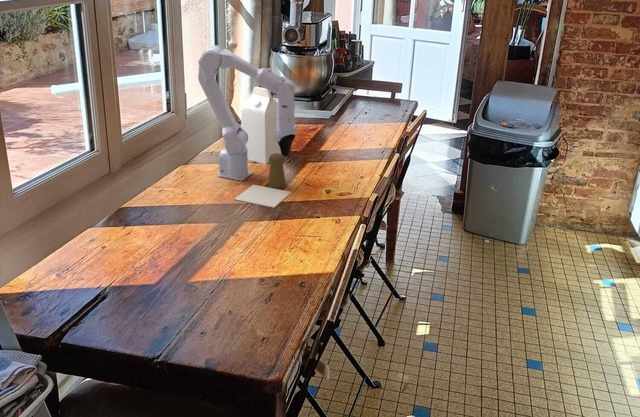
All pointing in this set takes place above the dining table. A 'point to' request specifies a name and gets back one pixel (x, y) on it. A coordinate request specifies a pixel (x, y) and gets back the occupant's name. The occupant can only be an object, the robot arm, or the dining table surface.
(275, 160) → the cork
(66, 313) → the dining table surface
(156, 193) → the dining table surface
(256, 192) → the mat
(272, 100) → the milk
